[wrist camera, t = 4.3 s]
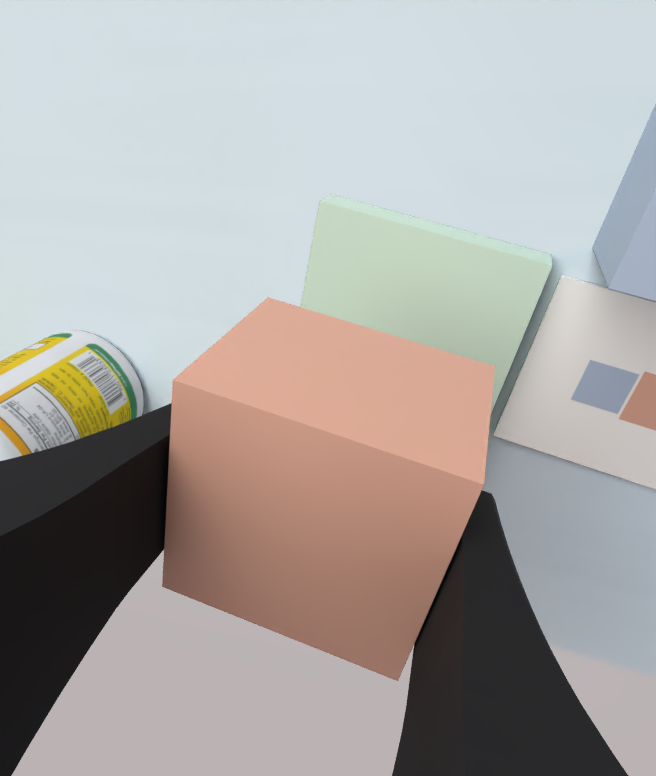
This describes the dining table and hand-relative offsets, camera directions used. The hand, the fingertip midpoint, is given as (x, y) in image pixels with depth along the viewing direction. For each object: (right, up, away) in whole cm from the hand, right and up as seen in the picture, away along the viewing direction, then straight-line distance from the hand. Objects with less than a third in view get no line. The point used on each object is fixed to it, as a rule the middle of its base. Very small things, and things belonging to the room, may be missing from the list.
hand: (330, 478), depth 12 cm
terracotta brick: (+1, +1, +1) cm, 2 cm away
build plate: (+3, +4, +7) cm, 9 cm away
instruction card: (+9, +2, +6) cm, 11 cm away
